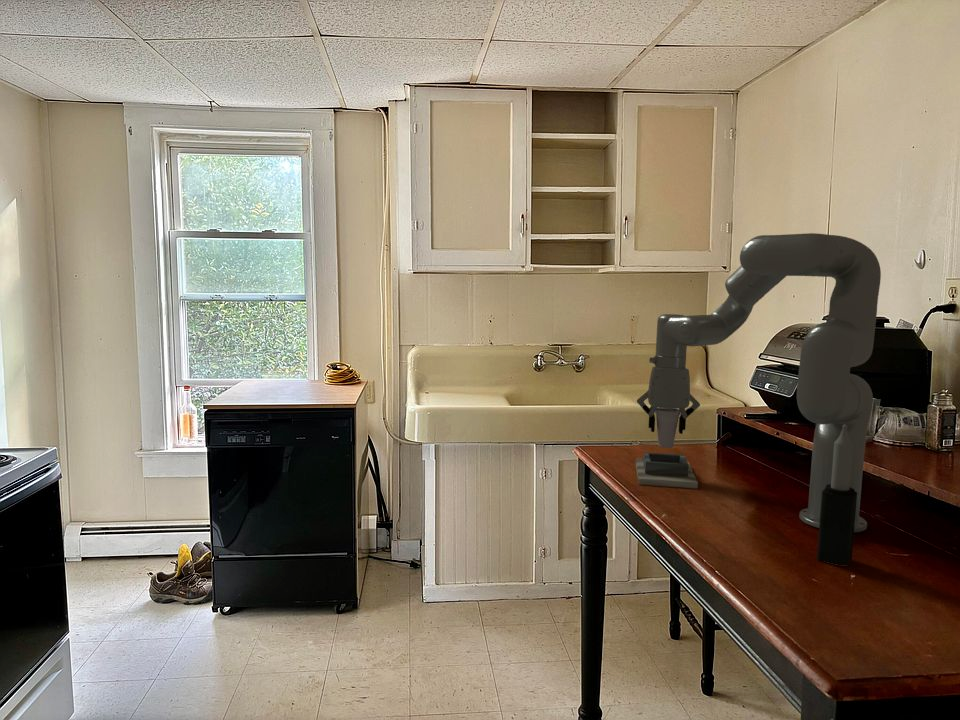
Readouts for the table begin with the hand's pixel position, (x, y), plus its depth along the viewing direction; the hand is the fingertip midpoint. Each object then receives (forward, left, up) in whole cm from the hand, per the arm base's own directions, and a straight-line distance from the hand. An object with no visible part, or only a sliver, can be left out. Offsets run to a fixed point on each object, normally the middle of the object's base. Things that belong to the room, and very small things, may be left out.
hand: (666, 431), depth 173 cm
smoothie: (0, 0, -4) cm, 4 cm away
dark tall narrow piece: (-49, -26, -12) cm, 57 cm away
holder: (0, 0, -12) cm, 12 cm away
